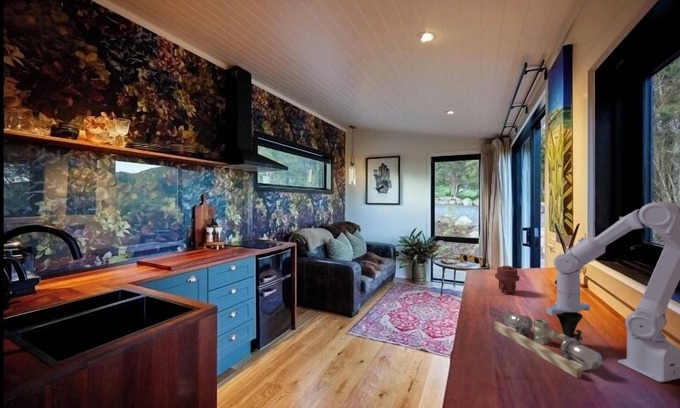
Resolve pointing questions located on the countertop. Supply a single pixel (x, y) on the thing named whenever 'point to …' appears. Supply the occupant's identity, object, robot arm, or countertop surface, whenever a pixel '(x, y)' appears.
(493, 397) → the countertop surface
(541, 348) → the backing rail
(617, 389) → the countertop surface
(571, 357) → the pipe line
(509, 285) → the mechanical component
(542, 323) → the valve
